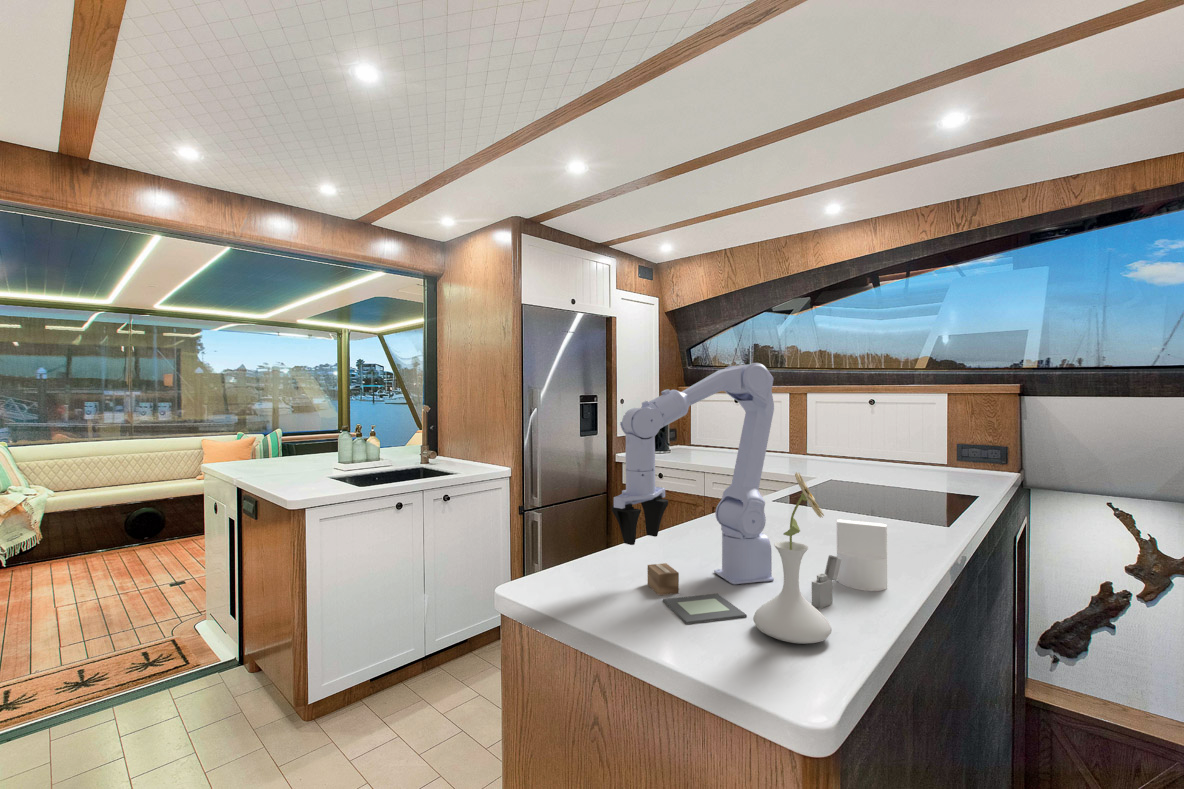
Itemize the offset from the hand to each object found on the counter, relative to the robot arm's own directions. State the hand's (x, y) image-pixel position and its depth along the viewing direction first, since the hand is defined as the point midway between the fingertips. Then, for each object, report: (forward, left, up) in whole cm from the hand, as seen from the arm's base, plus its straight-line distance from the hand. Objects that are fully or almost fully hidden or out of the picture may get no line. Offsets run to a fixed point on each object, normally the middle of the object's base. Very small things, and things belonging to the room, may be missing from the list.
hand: (641, 539), depth 100 cm
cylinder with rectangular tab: (-44, +8, -10) cm, 46 cm away
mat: (-7, +12, -10) cm, 17 cm away
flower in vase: (-17, +24, -10) cm, 31 cm away
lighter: (-30, +15, -10) cm, 35 cm away
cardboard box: (-4, +1, -10) cm, 11 cm away
